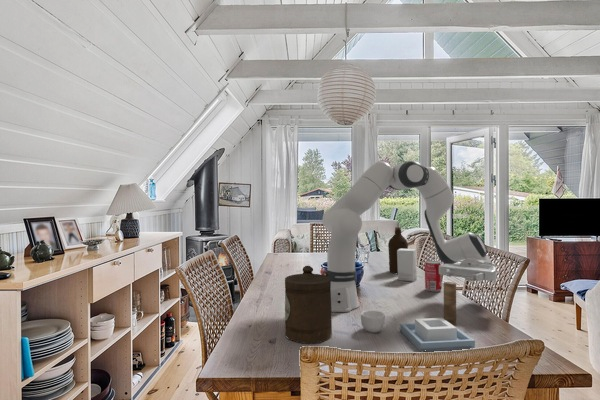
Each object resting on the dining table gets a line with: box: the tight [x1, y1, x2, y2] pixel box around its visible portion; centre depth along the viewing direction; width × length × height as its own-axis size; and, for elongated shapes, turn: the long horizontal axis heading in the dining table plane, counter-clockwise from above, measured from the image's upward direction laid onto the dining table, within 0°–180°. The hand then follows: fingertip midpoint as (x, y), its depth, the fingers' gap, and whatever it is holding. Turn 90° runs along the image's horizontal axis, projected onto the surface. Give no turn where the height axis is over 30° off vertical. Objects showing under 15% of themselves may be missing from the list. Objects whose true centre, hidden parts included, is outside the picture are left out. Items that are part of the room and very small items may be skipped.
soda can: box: [424, 260, 443, 293], centre depth 171 cm, size 7×7×13 cm
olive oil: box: [387, 226, 409, 275], centre depth 209 cm, size 11×11×25 cm
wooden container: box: [284, 265, 333, 344], centre depth 120 cm, size 15×15×22 cm
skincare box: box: [397, 248, 418, 282], centre depth 191 cm, size 8×7×16 cm
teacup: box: [360, 309, 386, 334], centre depth 124 cm, size 10×8×5 cm
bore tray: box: [399, 317, 476, 352], centre depth 115 cm, size 16×16×5 cm
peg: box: [443, 281, 457, 327], centre depth 128 cm, size 4×4×14 cm
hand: (461, 275), depth 137 cm, fingers open, 8 cm apart
